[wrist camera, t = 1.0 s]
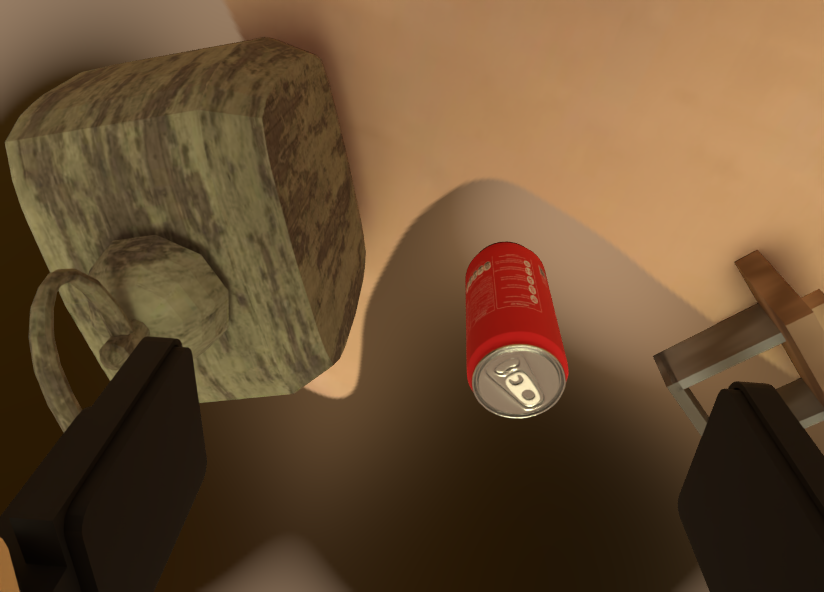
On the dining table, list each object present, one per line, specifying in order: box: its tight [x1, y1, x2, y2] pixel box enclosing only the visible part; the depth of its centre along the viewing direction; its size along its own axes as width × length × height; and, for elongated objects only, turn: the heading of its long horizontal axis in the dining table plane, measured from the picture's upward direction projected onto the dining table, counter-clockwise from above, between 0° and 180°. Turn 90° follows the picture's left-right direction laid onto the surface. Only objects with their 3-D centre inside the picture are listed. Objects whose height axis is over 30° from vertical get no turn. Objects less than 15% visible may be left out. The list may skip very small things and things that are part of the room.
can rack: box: [653, 250, 824, 436], centre depth 42 cm, size 10×16×8 cm, turn 37°
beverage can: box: [466, 242, 568, 418], centre depth 37 cm, size 5×5×12 cm
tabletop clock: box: [5, 37, 366, 432], centre depth 28 cm, size 14×9×25 cm, turn 10°
